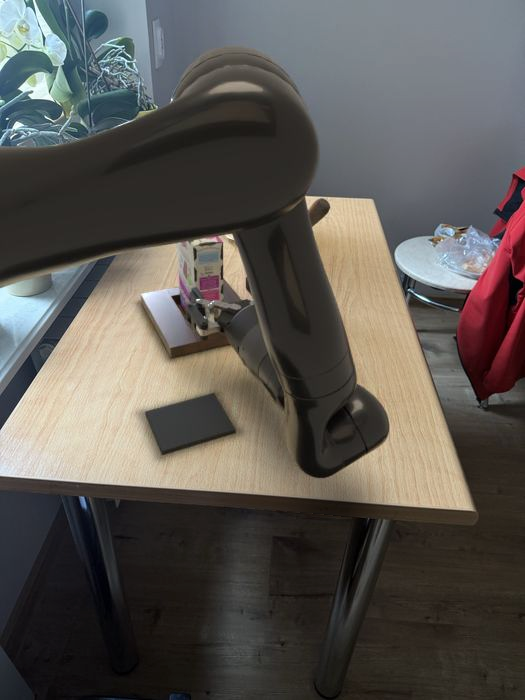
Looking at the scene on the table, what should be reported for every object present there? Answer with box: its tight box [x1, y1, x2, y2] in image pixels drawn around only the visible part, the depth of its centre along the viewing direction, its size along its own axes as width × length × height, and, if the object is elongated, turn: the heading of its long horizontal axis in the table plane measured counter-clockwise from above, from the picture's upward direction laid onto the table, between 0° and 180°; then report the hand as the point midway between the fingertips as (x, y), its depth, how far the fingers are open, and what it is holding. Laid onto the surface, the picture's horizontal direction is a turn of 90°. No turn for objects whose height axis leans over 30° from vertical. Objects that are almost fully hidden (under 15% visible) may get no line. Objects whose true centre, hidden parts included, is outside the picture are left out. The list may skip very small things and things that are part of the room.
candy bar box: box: [176, 236, 224, 315], centre depth 88 cm, size 11×5×16 cm, turn 22°
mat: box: [144, 392, 236, 455], centre depth 71 cm, size 10×8×1 cm
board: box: [140, 277, 242, 359], centre depth 92 cm, size 16×18×2 cm
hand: (221, 287), depth 78 cm, fingers open, 8 cm apart
